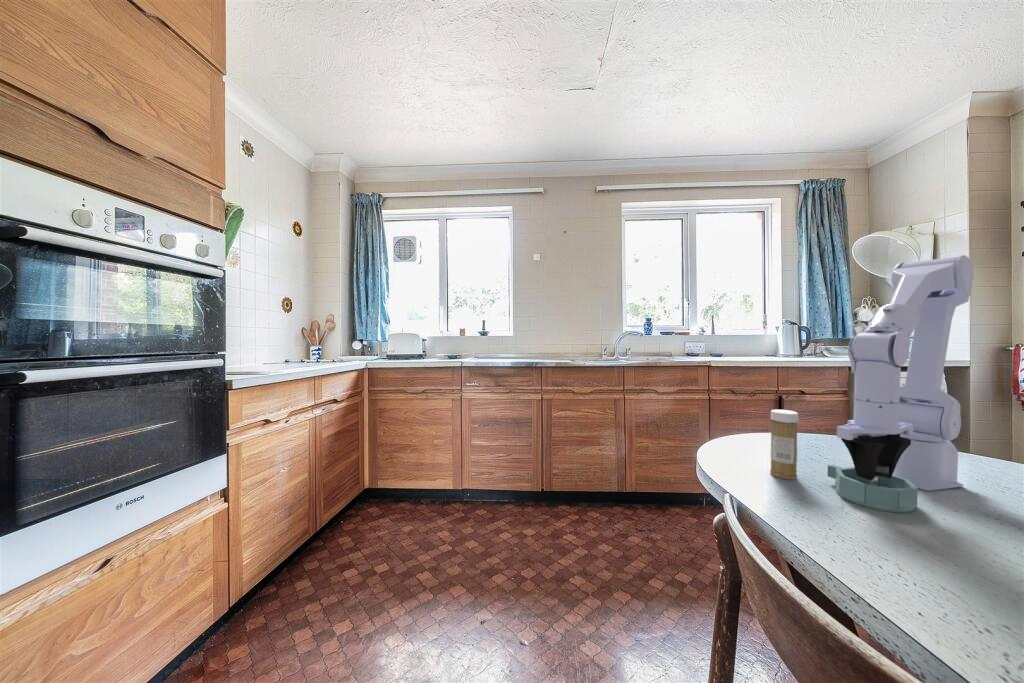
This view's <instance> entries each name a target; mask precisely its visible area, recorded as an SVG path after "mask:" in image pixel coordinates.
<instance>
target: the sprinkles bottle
mask: <svg viewBox="0 0 1024 683" xmlns="http://www.w3.org/2000/svg"><path fill="white" fill-rule="evenodd" d="M770 419H771V420H770V421H771V422H770V423H771V428H770V429H771V430H770V431H771V433H770V470H769V471H770V475H772V476H774V477H777V478H778V479H782V480H789V481H790V480H796V479H797V478H798V475H797V470H798V469H797V463H798V446H797V445H798V422H799V413H798V412H797V411H794V410H787V409H771V411H770Z"/></svg>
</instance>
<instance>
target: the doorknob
mask: <svg viewBox="0 0 1024 683" xmlns="http://www.w3.org/2000/svg"><path fill="white" fill-rule="evenodd" d="M888 475H889V466H888V465H886V464H883V463H880V462H877V463H876V471H875V476H874V478H873V480H870V483H865V484H870V485H876V486H880V485H878V476H888ZM862 483H864V482H862ZM882 487H884V486H882Z"/></svg>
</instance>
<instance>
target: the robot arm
mask: <svg viewBox="0 0 1024 683" xmlns="http://www.w3.org/2000/svg"><path fill="white" fill-rule="evenodd" d="M974 273H975V272H974V265H973V261H972V259H971V258H970V257H969V256H967V255H966V254H962V255H958V256H953V257H944V258H943V257H942V258H936V259H927V260H918V261H911V262H909V261H908V262H905V261H903V262H898V263H897V264H896V265H895V266H894V267H893V269H892V271H891V277H890V278H891V285H892V288H893V289H894V293H893V295H892V297H891V300H890V301H889V304H888V303H887V304H885V305H882V306H881V307H880V308H878V309H877V311H876V312H875V314H874V316H873V317H872V318H871V320H870V322H869V323H868V325H867V326H866V328H865V330H864V331H863V332H858V333H857V335H856V334H855V335H853V336H852V337H851V338H850V340H849V343H848V348H847V354H848V358H849V361H850V370H851V373H852V374H854V390H853V391H854V392H853V393H854V395H853V419H849V420H847V423H846V424H844V425H838V426H836V438H838V439H839V438H840V439H841V441H842V442H843V444H844V445H845V447H846V449H847V451H848V453H849V454H850V457H851V460H852V463H853V467H855V470H856V473H857V476H859V477H862V478H865V479H868V480H873V478H874V476H875V471H876V463H877V462H880V463H883V464H886V465H888V466H889V475H888V476H884V477H887V478H891V477H892V475H895V476H898V477H901V478H904V479H908V480H910V481H911V482H912V483H913V484H914V485H915V486H916V487H917V488H918V489H921V490H924V491H928V492H930V491H936V490H946V489H954V488H960V487H961V488H962V487H964V485H965V484H964V483H962V482H958V468H959V466H958V465H959V462H958V461H959V452H958V448H956V446H955V445H954V443H953V442H951V441H953V440H954V439H956V438H957V437H958V436H959V434H960V431H961V427H962V418H961V416H962V415H961V410H962V409H961V407H962V406H961V404H960V402H959V401H958V399H956V398H954V397H953V396H952V395H950V394H949V393H947V392H945V391H944V390H942V383H943V376H944V369H945V365H946V358H947V351H948V345H949V339H950V333H951V329H952V328H951V326H952V321H953V317H954V314H955V311H956V308H957V307H959V306H961V305H963V304H967V303H968V302H969V300H970V299H969V298H970V296H971V295H972V288H973V283H974V282H973V281H974V277H975V276H974V275H975V274H974ZM912 334H913V335H912ZM911 336H913V337H912V342H911V339H910V338H911ZM907 361H908V364H907V369H906V370H907V371H906V376H905V383H904V384H903V385H901V370H902V368H901V367H902V366H904V365H905V364H906V362H907Z"/></svg>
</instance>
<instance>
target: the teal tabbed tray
mask: <svg viewBox="0 0 1024 683" xmlns="http://www.w3.org/2000/svg"><path fill="white" fill-rule="evenodd" d="M827 477H828V478H832V479H834V481H835V482H834V485H835V492H836V494H837V495H838V496H839V497H841V498H842V499H844V500H846V501H848V502H850V503H854V504H856V505H859V506H862V507H865V508H869V509H873V510H876V511H881V512H882V511H883V512H888V513H895V514H896V513H898V514H907V513H908V514H909V513H913V512H914V511H915V510H916V507H918V492H919V490H918V489H919V488H917V487H916V486H915V485H914V484H913V483H912V482H911V481H910V480H908V479H904V478H901V477H898V476H895V475H892V477H891V478H887V477H884V476H878V485H880V486H876V485H870V484H865V483H870V480H868V479H865V478H862V477H859V476H857V473H856V470H855V467H854V466H850V467H849V466H848V467H842V466H839V465H836V464H828V465H827ZM862 482H864V483H862ZM882 486H884V487H882Z"/></svg>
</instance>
